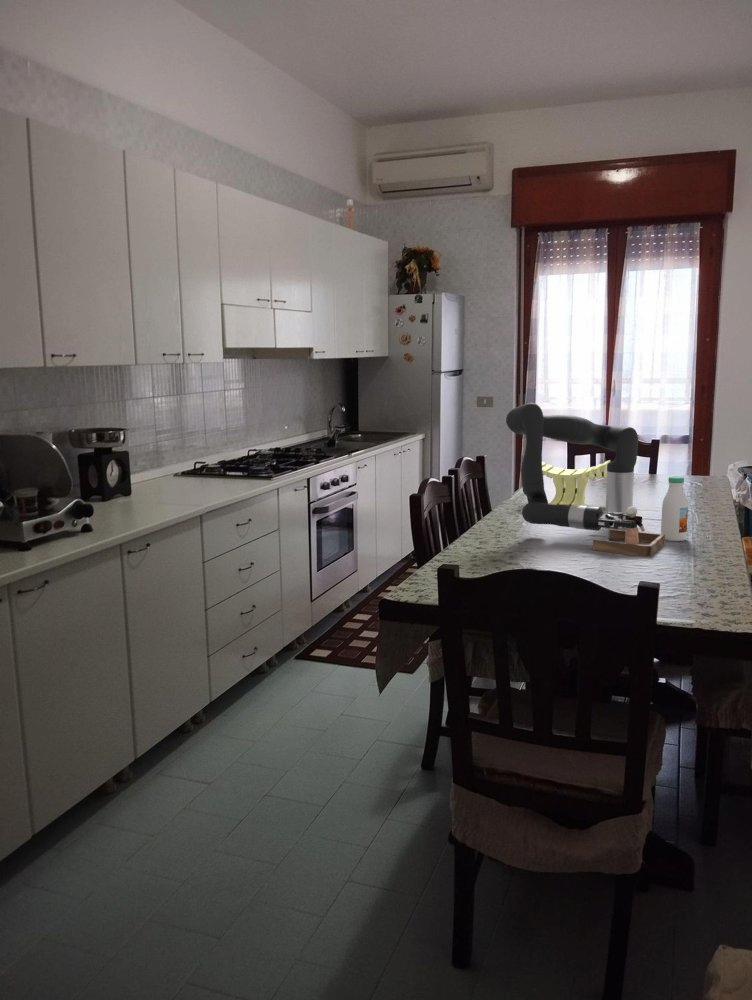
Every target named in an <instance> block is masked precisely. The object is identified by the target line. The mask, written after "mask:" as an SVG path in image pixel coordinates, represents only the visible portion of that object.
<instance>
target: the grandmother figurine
mask: <svg viewBox="0 0 752 1000" xmlns="http://www.w3.org/2000/svg"><path fill="white" fill-rule="evenodd" d="M626 514H627V515H628V516H629V517H630V518H626V519H624V520H630V521H635V528H625V530H624V531H625V540H624V543H629V544H638V545H640V544H639V543H640V542H639V539H638V532H639V528H640V532H645V529H646V528H645V527H644V524H643V522H642V523H641V521H640V520H639V519H637V518H634V517H635V516H637V515H638V509H637V507H636V506H634V505H633V506H631V507H629V508H628V509H627V510H626ZM638 527H639V528H638ZM617 530H622V528H618V529H617Z"/></svg>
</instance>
